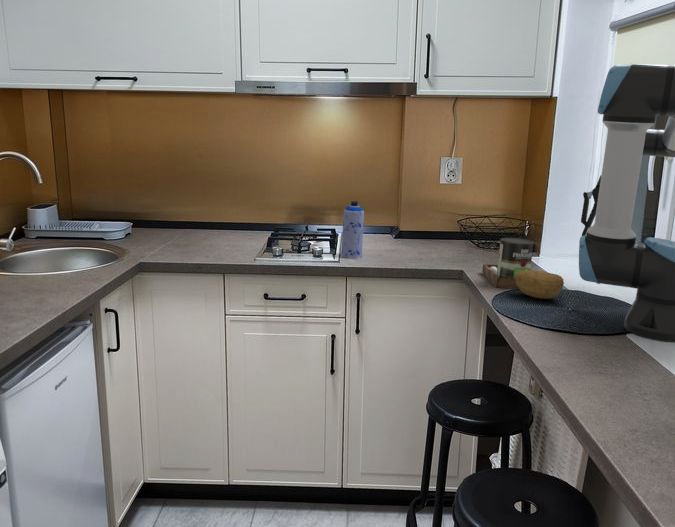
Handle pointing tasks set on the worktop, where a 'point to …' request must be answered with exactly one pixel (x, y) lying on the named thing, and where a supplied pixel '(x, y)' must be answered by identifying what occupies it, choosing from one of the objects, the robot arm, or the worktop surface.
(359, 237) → the aerosol can
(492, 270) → the pebble
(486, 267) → the tray frame
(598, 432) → the worktop surface
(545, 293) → the potato
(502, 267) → the coffee can
